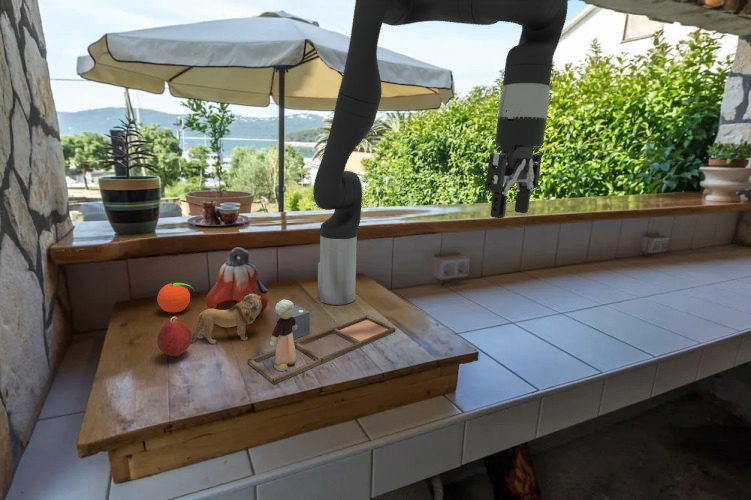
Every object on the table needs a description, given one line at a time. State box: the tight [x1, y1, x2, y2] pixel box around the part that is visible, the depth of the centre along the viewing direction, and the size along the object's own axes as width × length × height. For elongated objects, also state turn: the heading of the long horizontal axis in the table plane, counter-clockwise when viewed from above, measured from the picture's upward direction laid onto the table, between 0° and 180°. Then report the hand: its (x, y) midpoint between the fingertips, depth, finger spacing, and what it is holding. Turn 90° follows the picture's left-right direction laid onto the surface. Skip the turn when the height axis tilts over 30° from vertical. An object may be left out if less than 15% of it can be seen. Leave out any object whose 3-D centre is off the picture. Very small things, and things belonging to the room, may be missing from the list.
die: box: [275, 304, 311, 340], centre depth 88 cm, size 5×5×5 cm
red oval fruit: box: [156, 315, 193, 358], centre depth 76 cm, size 6×6×8 cm
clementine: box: [156, 282, 195, 314], centre depth 96 cm, size 8×7×7 cm
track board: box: [247, 315, 396, 385], centre depth 83 cm, size 9×31×1 cm, turn 135°
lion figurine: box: [191, 293, 263, 345], centre depth 84 cm, size 15×5×9 cm, turn 116°
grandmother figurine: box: [269, 299, 297, 372], centre depth 75 cm, size 8×4×13 cm, turn 168°
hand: (509, 215), depth 70 cm, fingers open, 8 cm apart
